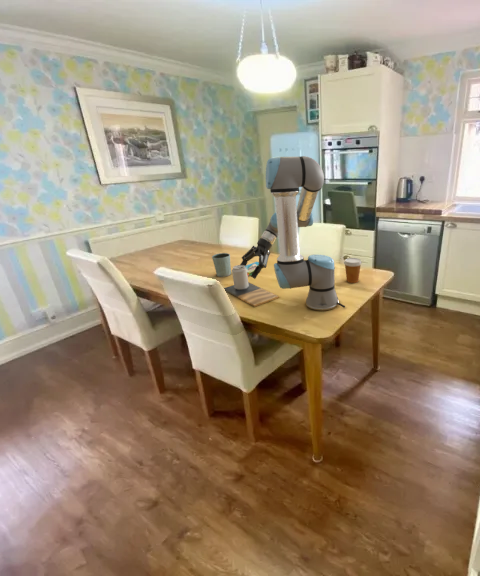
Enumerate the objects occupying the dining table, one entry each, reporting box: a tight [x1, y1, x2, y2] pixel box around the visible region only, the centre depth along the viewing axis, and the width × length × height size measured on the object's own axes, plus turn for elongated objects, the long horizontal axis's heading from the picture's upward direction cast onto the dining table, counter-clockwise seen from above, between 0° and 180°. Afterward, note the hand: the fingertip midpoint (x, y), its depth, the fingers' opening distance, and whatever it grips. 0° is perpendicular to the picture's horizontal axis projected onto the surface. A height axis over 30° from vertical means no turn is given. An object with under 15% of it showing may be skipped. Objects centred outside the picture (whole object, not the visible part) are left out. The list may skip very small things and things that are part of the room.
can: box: [231, 264, 249, 290], centre depth 166 cm, size 8×8×12 cm
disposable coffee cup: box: [343, 257, 362, 284], centre depth 174 cm, size 10×10×12 cm
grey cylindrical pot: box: [211, 252, 232, 278], centre depth 189 cm, size 10×10×12 cm
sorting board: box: [223, 281, 279, 308], centre depth 163 cm, size 30×14×1 cm, turn 44°
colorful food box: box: [245, 261, 259, 277], centre depth 190 cm, size 12×2×6 cm, turn 145°
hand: (245, 274), depth 168 cm, fingers open, 13 cm apart
